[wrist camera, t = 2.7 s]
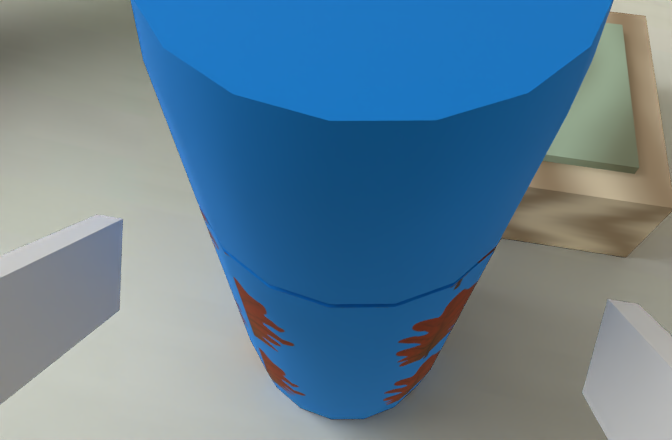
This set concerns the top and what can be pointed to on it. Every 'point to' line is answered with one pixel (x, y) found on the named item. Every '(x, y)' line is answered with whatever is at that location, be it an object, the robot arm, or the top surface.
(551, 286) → the top surface
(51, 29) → the top surface
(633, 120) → the wooden box
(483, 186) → the thermos
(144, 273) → the top surface
